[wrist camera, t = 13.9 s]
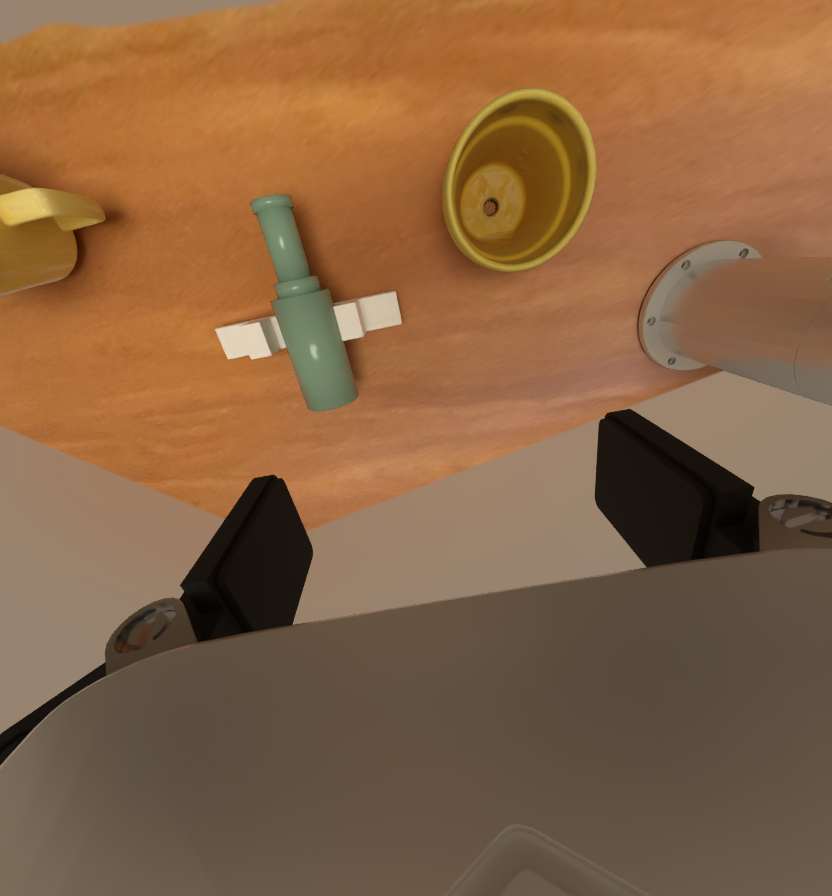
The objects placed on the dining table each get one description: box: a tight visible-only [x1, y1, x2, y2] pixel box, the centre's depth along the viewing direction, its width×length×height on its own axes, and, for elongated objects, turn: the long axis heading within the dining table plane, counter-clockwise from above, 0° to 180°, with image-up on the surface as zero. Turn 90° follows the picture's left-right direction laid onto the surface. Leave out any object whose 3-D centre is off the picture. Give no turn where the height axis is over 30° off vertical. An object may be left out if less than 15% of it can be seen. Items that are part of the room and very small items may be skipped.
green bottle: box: [250, 194, 358, 411], centre depth 32 cm, size 5×5×17 cm
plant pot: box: [442, 88, 597, 272], centre depth 29 cm, size 10×10×10 cm
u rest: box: [215, 290, 402, 359], centre depth 35 cm, size 18×3×5 cm, turn 101°
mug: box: [0, 174, 105, 296], centre depth 28 cm, size 14×10×10 cm
